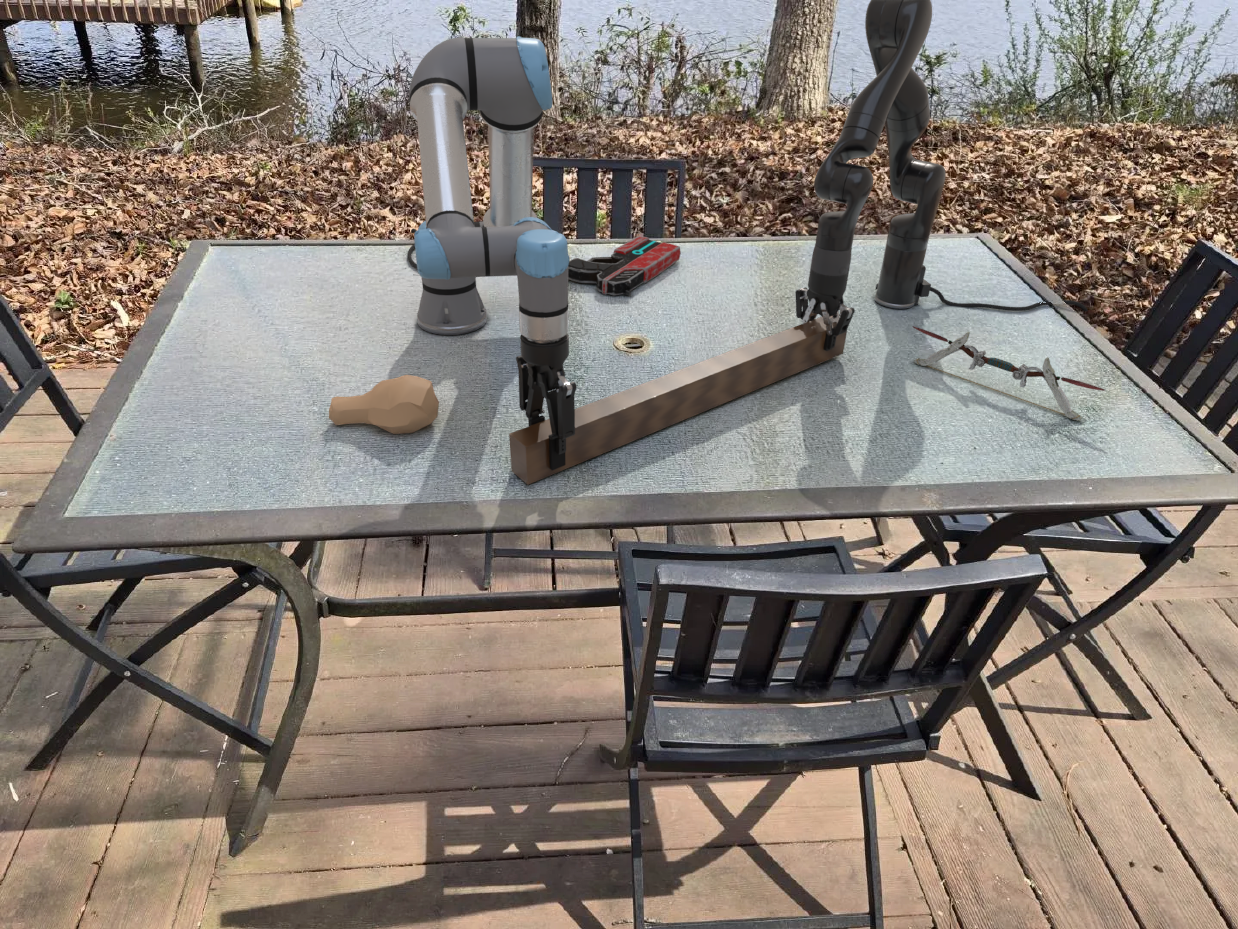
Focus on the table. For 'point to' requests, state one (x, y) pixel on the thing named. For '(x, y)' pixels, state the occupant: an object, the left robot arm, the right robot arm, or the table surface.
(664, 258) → the gun
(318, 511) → the table surface
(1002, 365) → the bow
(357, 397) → the squash
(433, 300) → the left robot arm
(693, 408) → the post
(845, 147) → the right robot arm
